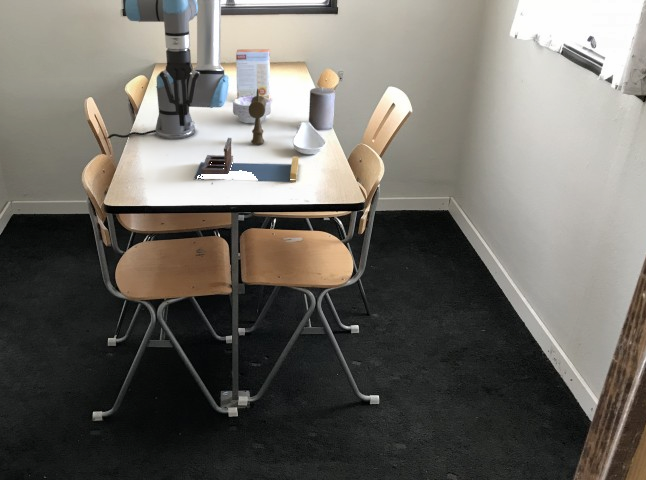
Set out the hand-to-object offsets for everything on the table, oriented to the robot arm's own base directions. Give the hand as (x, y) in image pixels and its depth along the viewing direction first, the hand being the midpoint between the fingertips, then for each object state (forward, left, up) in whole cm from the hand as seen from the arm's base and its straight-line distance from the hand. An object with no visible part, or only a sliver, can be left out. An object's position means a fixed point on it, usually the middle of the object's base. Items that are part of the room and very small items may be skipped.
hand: (182, 124), depth 233 cm
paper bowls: (+17, +58, -16) cm, 62 cm away
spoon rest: (+40, +27, -16) cm, 51 cm away
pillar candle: (+45, +52, -16) cm, 70 cm away
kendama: (+22, +30, -16) cm, 40 cm away
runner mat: (+21, 0, -16) cm, 26 cm away
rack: (+11, 0, -16) cm, 19 cm away
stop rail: (+37, 0, -16) cm, 40 cm away
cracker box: (+15, +86, -16) cm, 88 cm away
